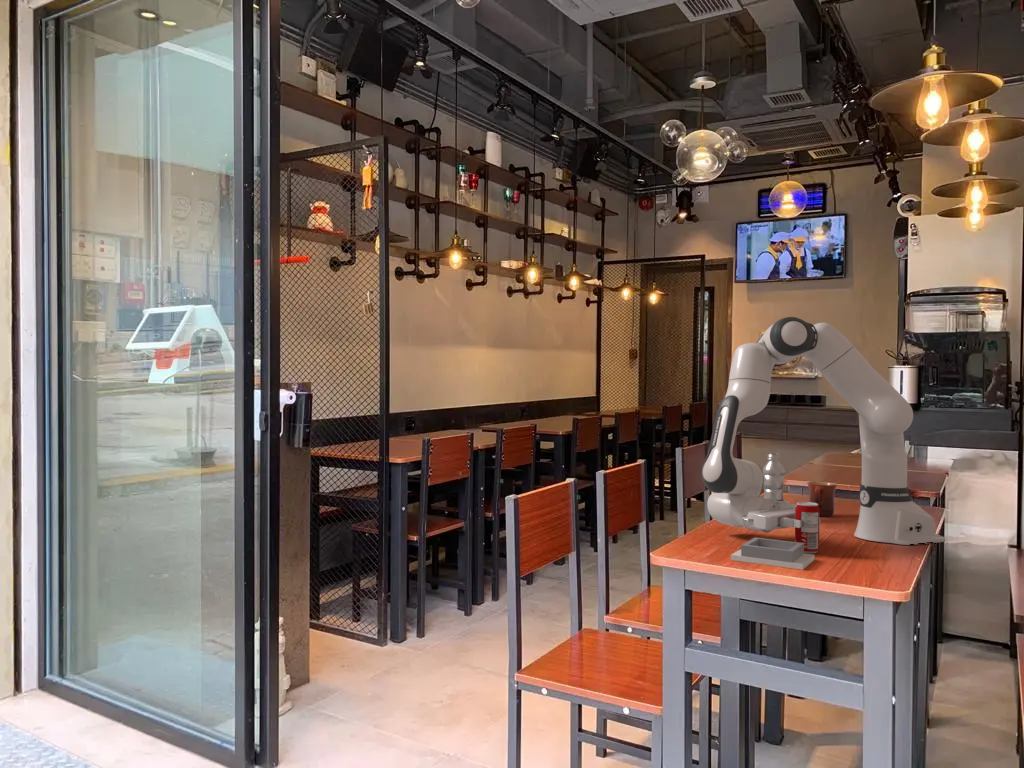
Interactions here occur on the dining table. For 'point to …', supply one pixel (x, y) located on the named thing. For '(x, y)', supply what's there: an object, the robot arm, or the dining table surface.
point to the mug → (823, 497)
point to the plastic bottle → (773, 477)
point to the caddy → (773, 553)
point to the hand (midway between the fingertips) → (810, 522)
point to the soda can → (808, 526)
